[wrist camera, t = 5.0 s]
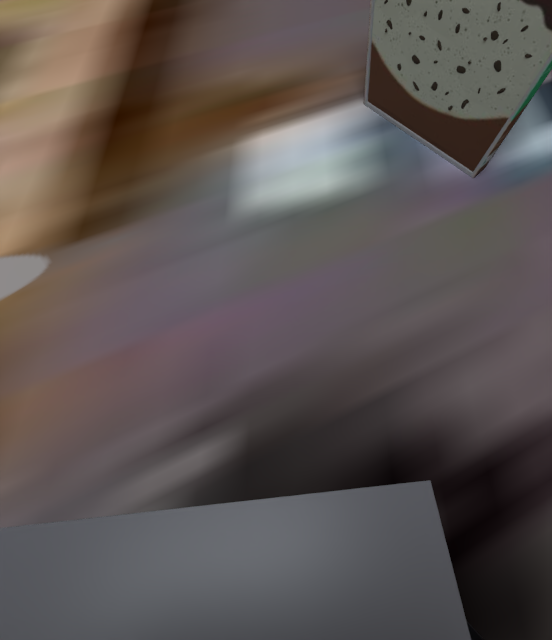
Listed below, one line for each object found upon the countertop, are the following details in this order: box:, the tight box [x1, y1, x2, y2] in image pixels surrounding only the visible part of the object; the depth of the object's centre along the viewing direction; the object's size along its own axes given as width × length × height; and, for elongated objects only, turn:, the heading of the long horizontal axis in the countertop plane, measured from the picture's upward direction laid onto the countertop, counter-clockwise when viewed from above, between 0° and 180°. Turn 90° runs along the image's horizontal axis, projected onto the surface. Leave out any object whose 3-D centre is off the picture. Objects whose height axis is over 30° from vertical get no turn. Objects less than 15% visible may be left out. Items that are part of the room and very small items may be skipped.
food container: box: [364, 0, 552, 178], centre depth 22 cm, size 12×6×10 cm, turn 38°
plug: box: [0, 480, 471, 640], centre depth 7 cm, size 4×4×12 cm
